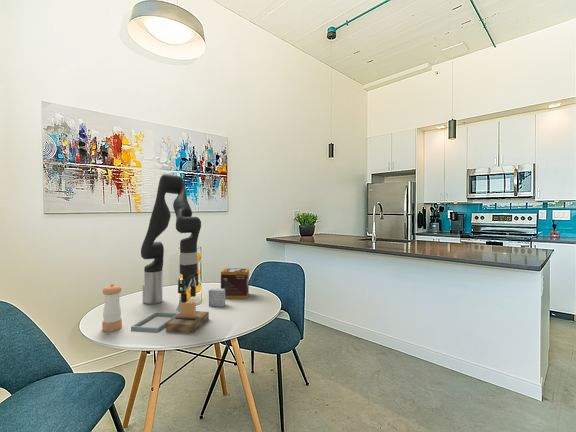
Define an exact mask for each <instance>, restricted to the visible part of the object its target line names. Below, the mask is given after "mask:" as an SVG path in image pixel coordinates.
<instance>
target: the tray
mask: <svg viewBox="0 0 576 432" xmlns="http://www.w3.org/2000/svg"><path fill="white" fill-rule="evenodd" d="M178 314H180V312H179V313H175V312H164V311H163V312H161V311H160V312H159V311H155V312H154V313H152V314H149V315H148V316H146V317H145V318H143V319H142V320H140V321H138V322H136V323H134V324H133V325H131V326H130V332H133V331H136V332H137V331H139V332H151V333H159V332H160V331H161V330H163V329H164V328H166V323H167V322H168V321H170V320H171V319H172V318H174V317H175V316H177V315H178ZM156 317H166V318H167V317H171V318H170V319H167V320H166V321H165V322H164V323H162V324H161V325H158V327H151V326H143V325H145V324H146V323H147V322H149V321H151V320H153V319H154V318H156Z"/></svg>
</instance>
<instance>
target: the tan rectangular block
mask: <svg viewBox="0 0 576 432" xmlns="http://www.w3.org/2000/svg"><path fill="white" fill-rule="evenodd" d="M196 303H197V302H195V301H188V302H186V303H182V302H181V312H180V313H181V317H184V318H196V311H197V309H196V308H197V307H196V305H197V304H196Z"/></svg>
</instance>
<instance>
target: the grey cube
mask: <svg viewBox="0 0 576 432" xmlns="http://www.w3.org/2000/svg"><path fill="white" fill-rule="evenodd" d="M225 304H226V298H225V289H221V288H214V287H213V288H210V289H208V307H224V306H225Z"/></svg>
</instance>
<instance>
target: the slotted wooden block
mask: <svg viewBox="0 0 576 432" xmlns="http://www.w3.org/2000/svg"><path fill="white" fill-rule="evenodd" d="M209 313H210V312H209V311H200V310H196V318H184V317H181V312H179V314H178V315H177V316H175V317H174V318H172V317H171V318H172V319H171V318H170V319H171V320H170V321H168V320H167V321H168V322H167V323H166V327H165V333H177V334H178V333H181V334H195V333H196V331H197V330H199V329H200V327H203V326H204V325H205V323H207V322H208V321H209V319H210V317H209V316H210V315H209Z"/></svg>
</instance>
